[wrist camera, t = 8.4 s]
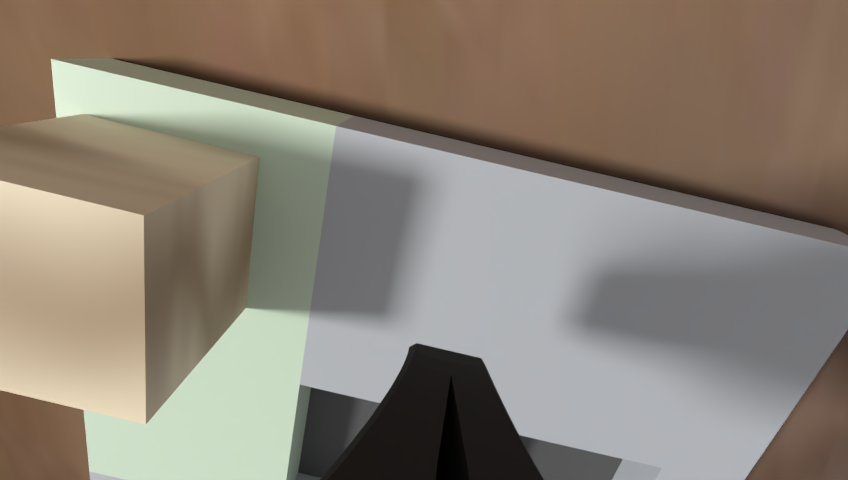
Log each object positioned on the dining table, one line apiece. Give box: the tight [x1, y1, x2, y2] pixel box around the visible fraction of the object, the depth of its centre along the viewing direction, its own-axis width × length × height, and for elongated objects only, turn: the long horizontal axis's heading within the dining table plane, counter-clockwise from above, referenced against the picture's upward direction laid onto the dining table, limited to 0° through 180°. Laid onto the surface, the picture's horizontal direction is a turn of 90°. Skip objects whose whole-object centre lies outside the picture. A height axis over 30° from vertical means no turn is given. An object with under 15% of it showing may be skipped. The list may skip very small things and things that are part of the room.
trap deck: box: [51, 58, 848, 480], centre depth 15 cm, size 16×21×2 cm
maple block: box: [0, 114, 260, 424], centre depth 10 cm, size 4×4×4 cm
